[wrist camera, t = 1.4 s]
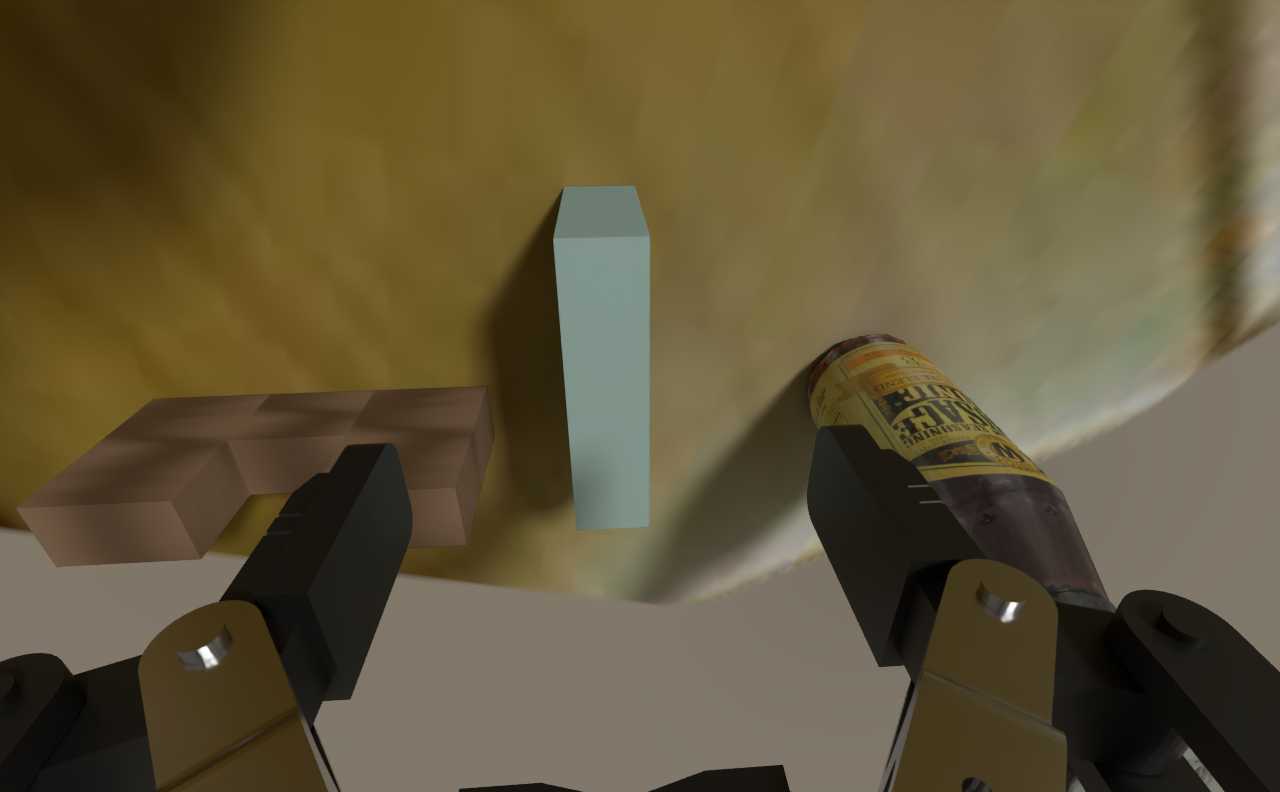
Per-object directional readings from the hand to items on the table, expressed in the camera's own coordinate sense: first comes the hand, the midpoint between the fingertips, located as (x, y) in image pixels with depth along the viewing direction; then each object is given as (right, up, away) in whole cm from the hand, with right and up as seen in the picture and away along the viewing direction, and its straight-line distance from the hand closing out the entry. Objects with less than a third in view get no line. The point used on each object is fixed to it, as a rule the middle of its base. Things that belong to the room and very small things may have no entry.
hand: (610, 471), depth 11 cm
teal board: (-1, +5, +17) cm, 18 cm away
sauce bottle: (+12, +2, +20) cm, 23 cm away
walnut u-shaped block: (-15, 0, +19) cm, 24 cm away
